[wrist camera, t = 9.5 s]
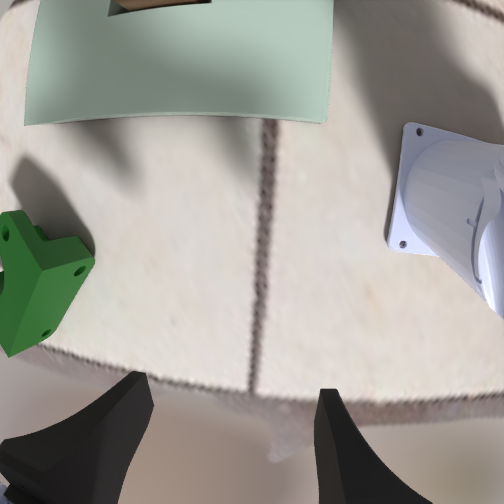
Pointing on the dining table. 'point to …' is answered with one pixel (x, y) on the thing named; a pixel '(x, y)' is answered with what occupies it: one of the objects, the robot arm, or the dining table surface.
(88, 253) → the clamp
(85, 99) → the well block
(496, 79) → the dining table surface
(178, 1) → the post
